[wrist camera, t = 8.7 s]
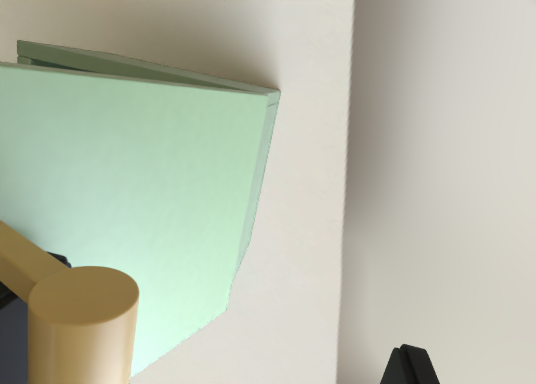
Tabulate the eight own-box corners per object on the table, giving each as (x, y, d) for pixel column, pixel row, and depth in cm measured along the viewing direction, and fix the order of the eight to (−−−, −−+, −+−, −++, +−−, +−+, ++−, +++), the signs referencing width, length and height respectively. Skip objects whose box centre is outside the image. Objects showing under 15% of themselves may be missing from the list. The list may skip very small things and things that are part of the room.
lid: (-116, 524, 10) (-3, 746, 7) (-200, 36, 6) (-30, 121, 4) (216, 304, 22) (305, 356, 20) (256, 92, 18) (373, 121, 16)
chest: (97, 205, 32) (17, 249, 23) (107, 52, 28) (16, 39, 20) (249, 243, 31) (223, 302, 22) (281, 90, 27) (264, 93, 19)
